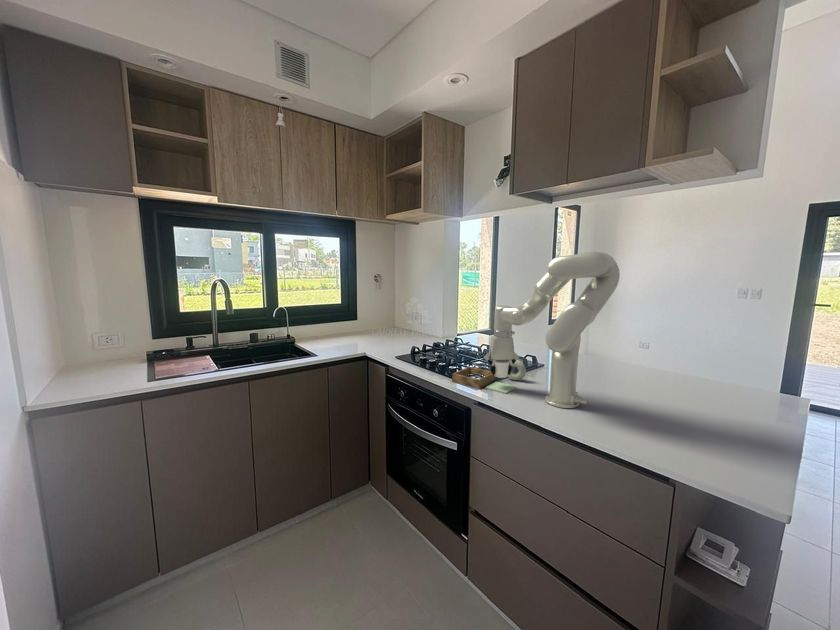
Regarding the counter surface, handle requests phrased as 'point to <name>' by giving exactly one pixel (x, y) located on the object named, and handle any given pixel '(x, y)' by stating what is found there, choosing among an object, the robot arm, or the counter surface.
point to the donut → (520, 371)
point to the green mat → (500, 387)
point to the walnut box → (472, 382)
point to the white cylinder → (501, 368)
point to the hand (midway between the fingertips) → (500, 373)
